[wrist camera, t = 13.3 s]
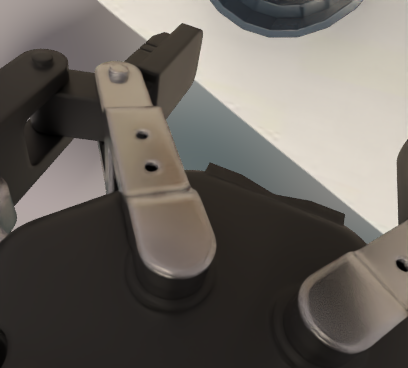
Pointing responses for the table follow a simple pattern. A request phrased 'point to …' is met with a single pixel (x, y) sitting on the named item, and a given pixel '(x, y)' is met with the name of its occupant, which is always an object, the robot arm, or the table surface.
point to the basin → (285, 15)
